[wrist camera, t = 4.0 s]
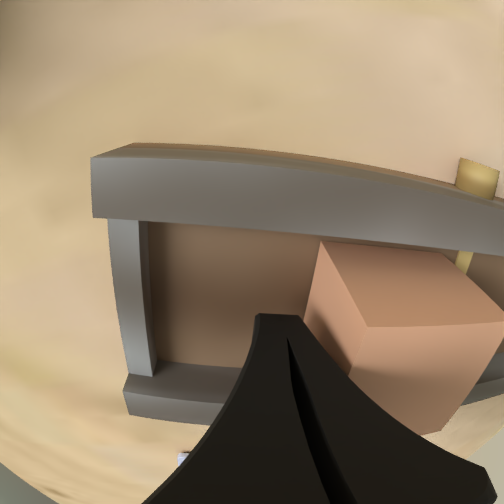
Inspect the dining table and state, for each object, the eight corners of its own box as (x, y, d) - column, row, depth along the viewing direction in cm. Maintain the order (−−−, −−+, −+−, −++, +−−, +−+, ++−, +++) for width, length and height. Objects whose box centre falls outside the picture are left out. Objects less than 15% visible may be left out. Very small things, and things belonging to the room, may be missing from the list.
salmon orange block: (401, 353, 13) (440, 430, 8) (294, 356, 12) (312, 450, 8) (441, 253, 10) (512, 320, 6) (320, 241, 10) (367, 327, 6)
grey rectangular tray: (517, 360, 17) (539, 389, 13) (148, 375, 15) (134, 429, 12) (581, 209, 11) (615, 229, 8) (135, 109, 10) (91, 111, 6)
